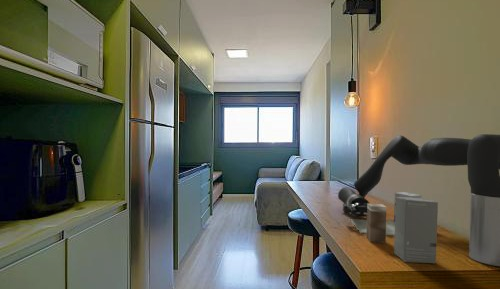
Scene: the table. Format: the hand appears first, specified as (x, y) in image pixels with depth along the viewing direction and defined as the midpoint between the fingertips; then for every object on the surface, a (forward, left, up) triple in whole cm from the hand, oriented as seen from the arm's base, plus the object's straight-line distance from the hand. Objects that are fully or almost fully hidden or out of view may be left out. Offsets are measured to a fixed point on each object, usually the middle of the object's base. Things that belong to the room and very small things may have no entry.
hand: (367, 213), depth 105 cm
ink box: (-18, -14, -6) cm, 24 cm away
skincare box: (-6, +25, -6) cm, 26 cm away
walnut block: (0, +11, -6) cm, 12 cm away
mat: (-5, -5, -6) cm, 9 cm away
